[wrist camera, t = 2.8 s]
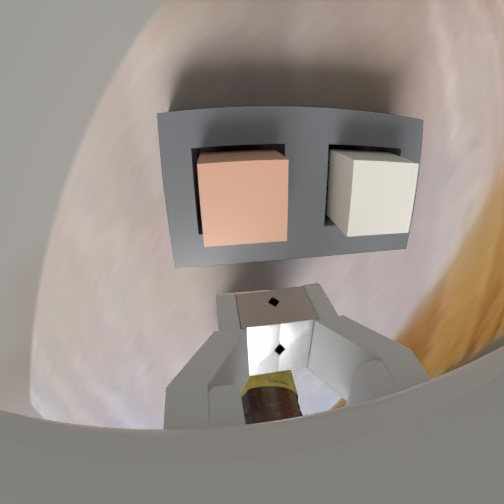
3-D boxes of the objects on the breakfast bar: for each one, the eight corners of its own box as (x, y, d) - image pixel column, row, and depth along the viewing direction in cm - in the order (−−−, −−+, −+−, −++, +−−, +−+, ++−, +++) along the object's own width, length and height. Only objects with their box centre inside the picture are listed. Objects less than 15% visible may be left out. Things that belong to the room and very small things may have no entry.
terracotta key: (274, 149, 20) (288, 159, 16) (274, 217, 22) (286, 240, 18) (200, 153, 19) (197, 164, 16) (205, 222, 21) (204, 247, 18)
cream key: (388, 152, 21) (418, 163, 17) (382, 212, 23) (408, 232, 19) (329, 149, 20) (353, 160, 17) (326, 214, 22) (346, 236, 19)
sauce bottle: (211, 305, 30) (223, 506, 12) (273, 295, 30) (331, 487, 13) (223, 350, 33) (241, 521, 16) (278, 340, 33) (323, 506, 16)
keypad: (390, 114, 23) (423, 119, 18) (379, 225, 28) (406, 248, 24) (168, 111, 21) (157, 113, 17) (180, 238, 26) (175, 267, 22)
